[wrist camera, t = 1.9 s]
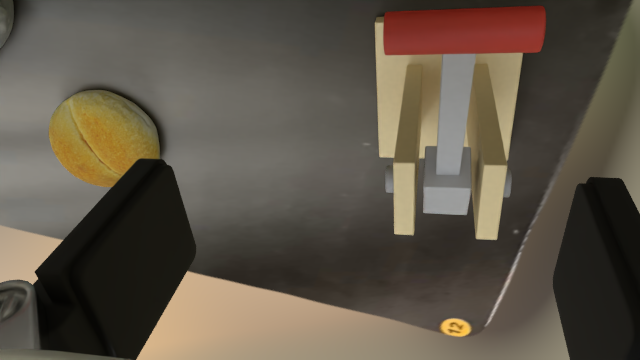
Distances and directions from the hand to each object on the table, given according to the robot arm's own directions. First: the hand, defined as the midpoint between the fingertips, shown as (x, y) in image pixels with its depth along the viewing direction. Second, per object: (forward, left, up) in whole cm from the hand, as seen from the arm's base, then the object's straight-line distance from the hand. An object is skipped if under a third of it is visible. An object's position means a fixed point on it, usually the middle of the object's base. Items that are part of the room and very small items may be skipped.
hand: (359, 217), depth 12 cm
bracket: (+7, +2, -23) cm, 24 cm away
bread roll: (+11, -25, -23) cm, 36 cm away
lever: (+3, +2, -11) cm, 12 cm away
